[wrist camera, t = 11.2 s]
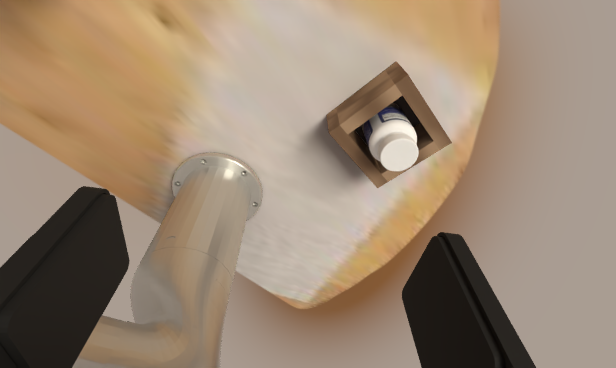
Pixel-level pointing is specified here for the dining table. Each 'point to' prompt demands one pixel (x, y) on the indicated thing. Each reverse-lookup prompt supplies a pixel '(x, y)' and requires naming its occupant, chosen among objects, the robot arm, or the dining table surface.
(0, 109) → the dining table surface
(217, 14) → the dining table surface
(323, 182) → the dining table surface
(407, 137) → the pill bottle
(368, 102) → the well
